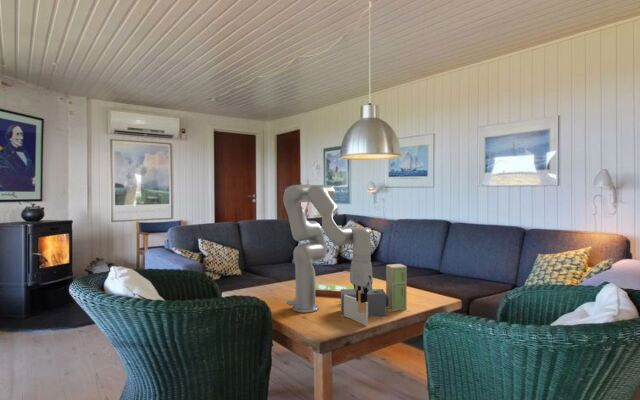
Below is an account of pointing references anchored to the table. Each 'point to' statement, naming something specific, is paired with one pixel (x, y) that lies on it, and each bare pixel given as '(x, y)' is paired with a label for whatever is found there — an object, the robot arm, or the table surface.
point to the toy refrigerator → (396, 286)
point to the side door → (356, 309)
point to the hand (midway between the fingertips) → (361, 301)
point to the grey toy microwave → (369, 301)
